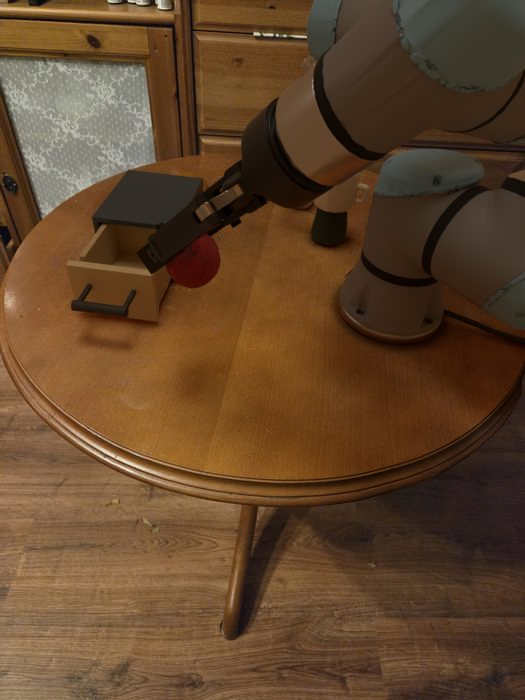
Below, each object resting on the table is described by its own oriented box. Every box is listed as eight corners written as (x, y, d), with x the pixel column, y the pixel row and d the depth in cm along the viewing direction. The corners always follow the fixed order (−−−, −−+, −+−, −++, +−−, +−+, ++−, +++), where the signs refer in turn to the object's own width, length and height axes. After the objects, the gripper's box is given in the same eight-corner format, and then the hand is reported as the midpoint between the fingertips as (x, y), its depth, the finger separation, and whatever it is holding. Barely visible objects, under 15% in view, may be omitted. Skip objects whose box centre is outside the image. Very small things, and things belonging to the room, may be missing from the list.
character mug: (363, 237, 88) (379, 166, 79) (350, 256, 84) (365, 184, 75) (307, 220, 92) (316, 151, 82) (291, 238, 87) (299, 167, 78)
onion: (213, 307, 53) (211, 242, 47) (161, 299, 53) (152, 234, 48) (225, 275, 57) (225, 212, 51) (177, 268, 57) (171, 205, 52)
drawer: (146, 346, 65) (139, 299, 59) (63, 334, 66) (48, 287, 60) (184, 262, 79) (181, 218, 73) (114, 253, 79) (106, 209, 74)
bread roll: (212, 188, 99) (212, 168, 96) (197, 209, 92) (197, 189, 90) (173, 181, 100) (172, 162, 97) (156, 202, 94) (154, 182, 91)
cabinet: (182, 282, 76) (177, 227, 70) (103, 272, 77) (91, 216, 71) (204, 229, 88) (202, 178, 81) (135, 221, 88) (128, 169, 82)
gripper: (348, 64, 41) (205, 188, 59) (194, 129, 30) (76, 257, 48) (392, 147, 42) (239, 243, 60) (260, 237, 31) (122, 321, 49)
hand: (167, 249), depth 54 cm, fingers closed on onion, 6 cm apart
